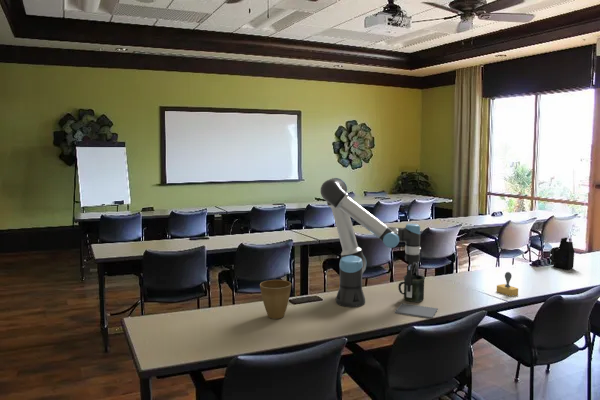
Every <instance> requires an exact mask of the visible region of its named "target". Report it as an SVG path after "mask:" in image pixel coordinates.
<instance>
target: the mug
mask: <svg viewBox="0 0 600 400" xmlns="http://www.w3.org/2000/svg"><path fill="white" fill-rule="evenodd" d="M406 275H407V274H406ZM406 275H404V276H403V280H404V281H400V282H399V283H398V286H397V287H398V292H399V293H400V294H401V295H402V296H403V299H404V300H405V301H407V302H412V303H413V302H415V303H417V302H418V303H420V302H423V300H424V297H425V280H426V277H425V276H424V275H420V274H418V275H417V276H414V275H413V279H412V298H409V297H406V294H407V285H405V284H406ZM402 285H403V291H402V289H401V286H402Z"/></svg>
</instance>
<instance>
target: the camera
mask: <svg viewBox="0 0 600 400" xmlns="http://www.w3.org/2000/svg"><path fill="white" fill-rule="evenodd" d="M549 254H550V256H549V261H550V265H552V266H553V267H555V268H559V269H564V270H565V271H567V270H571V269H574V262H575V248H574V244H573V241H568V237H562V238H561V239H560V242H559V246H556V247H552V248H551V249H550V250H549Z"/></svg>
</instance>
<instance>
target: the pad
mask: <svg viewBox="0 0 600 400" xmlns="http://www.w3.org/2000/svg"><path fill="white" fill-rule="evenodd" d="M437 310H438V311H439V308H438V307H432V306H431V307H430V306H423V305H418V304H417V305H416V304H410V303H403V302H402V303H400V305H399V306H398V307H397V309H395V311H394V314H398V315H403V316H411V317H416V316H418V318H423V317H426V318H425V319H430V318H431V319H430V320H433V319H432V318H434V317H435V315H436V314H437V312H438V311H437ZM435 313H436V314H435ZM433 316H434V317H433Z"/></svg>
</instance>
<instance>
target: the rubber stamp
mask: <svg viewBox="0 0 600 400" xmlns="http://www.w3.org/2000/svg"><path fill="white" fill-rule="evenodd" d="M504 278H505V282H506V283H502V284H497V285H496V292H497V293H500V294H503V293H504V294H503V295H506V294H507V295H506V296H509V295H510V296H509V297H513V296H512V295H515V296H518V295H519V288H518V287H515V286H512V285H510V282H511V279H512V273H511V272H510V271H507V272H505V273H504Z"/></svg>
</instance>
